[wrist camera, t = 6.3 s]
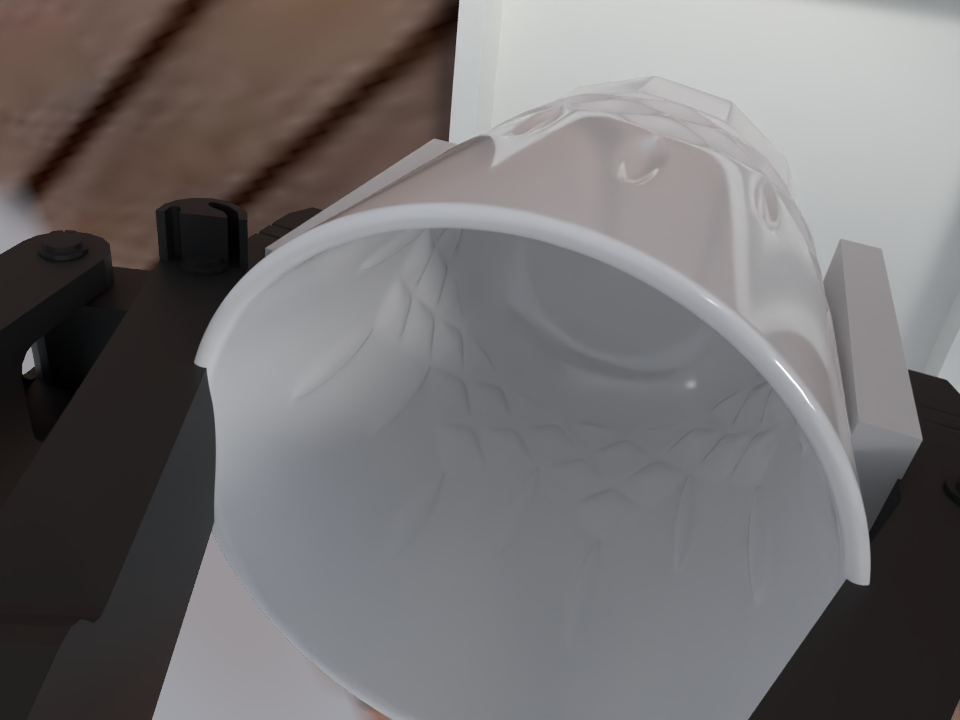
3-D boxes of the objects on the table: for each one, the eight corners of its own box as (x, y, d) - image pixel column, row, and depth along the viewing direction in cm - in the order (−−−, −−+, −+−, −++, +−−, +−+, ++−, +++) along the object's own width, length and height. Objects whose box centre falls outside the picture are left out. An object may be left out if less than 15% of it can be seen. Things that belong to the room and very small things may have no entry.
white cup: (495, 396, 21) (289, 729, 12) (429, 73, 17) (85, 235, 9) (836, 399, 18) (863, 839, 9) (837, 9, 14) (883, 163, 6)
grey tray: (1137, -31, 24) (1167, -24, 22) (891, 492, 34) (896, 530, 32) (492, -109, 29) (467, -110, 27) (449, 370, 39) (429, 396, 37)
